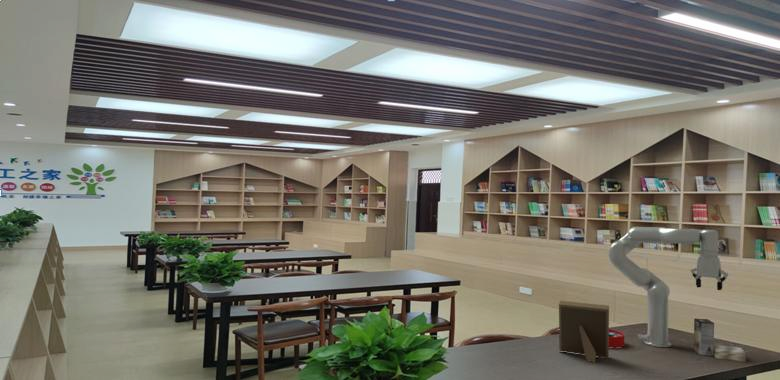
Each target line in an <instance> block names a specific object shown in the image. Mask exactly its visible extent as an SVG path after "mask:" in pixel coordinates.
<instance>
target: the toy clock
mask: <svg viewBox="0 0 780 380" xmlns="http://www.w3.org/2000/svg"><path fill="white" fill-rule="evenodd" d="M623 346H624V347H625V333H623V332H621V331H619V330H616V329H615V330H614V329H610V328H609V347H613V348H612V349H617V348H616V347H622V348H623ZM614 347H615V348H614Z"/></svg>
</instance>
